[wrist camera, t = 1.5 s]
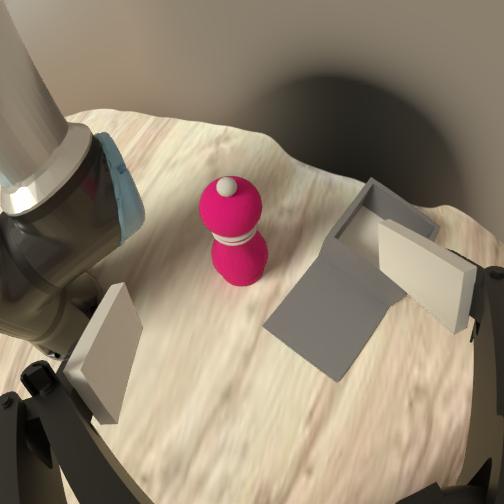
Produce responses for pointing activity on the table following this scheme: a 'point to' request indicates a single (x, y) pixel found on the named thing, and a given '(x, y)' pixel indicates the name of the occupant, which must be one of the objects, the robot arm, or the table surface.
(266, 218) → the table surface
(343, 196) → the table surface
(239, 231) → the pepper mill
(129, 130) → the table surface
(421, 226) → the box
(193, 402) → the table surface
